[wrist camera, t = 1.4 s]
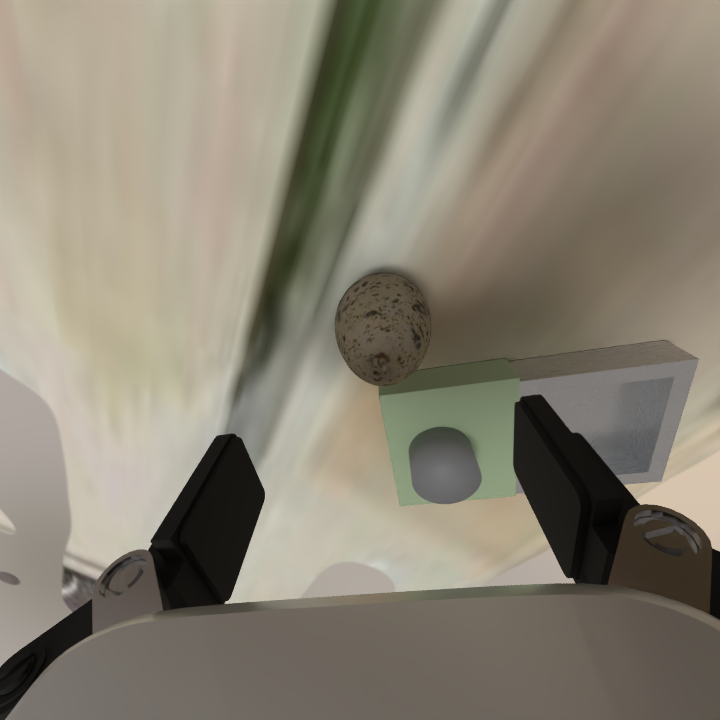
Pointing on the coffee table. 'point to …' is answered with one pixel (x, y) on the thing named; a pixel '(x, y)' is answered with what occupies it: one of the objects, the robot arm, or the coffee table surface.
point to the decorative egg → (383, 328)
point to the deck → (459, 409)
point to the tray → (617, 401)
